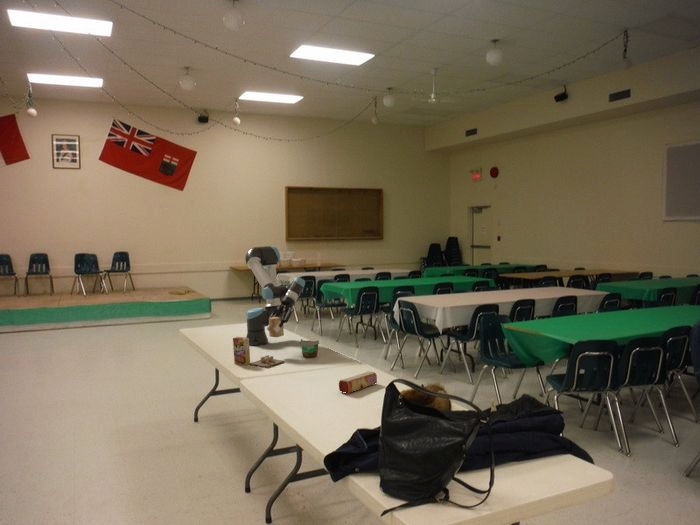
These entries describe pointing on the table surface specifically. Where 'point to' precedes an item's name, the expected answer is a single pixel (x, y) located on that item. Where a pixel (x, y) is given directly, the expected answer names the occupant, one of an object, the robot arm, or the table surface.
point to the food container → (309, 348)
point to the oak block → (273, 324)
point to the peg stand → (267, 362)
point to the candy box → (241, 350)
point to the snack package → (357, 382)
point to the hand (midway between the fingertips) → (272, 330)
